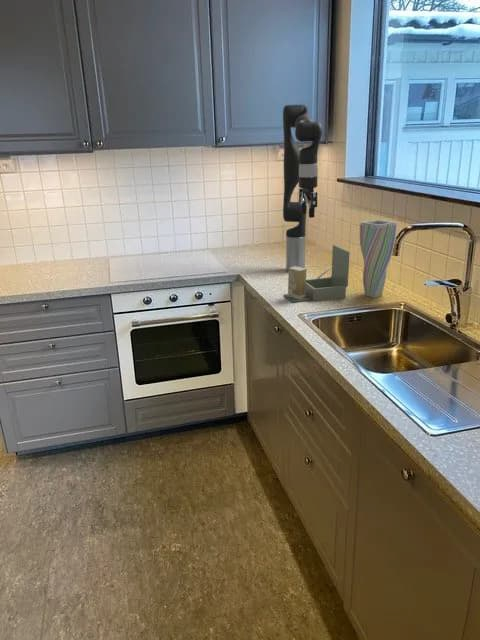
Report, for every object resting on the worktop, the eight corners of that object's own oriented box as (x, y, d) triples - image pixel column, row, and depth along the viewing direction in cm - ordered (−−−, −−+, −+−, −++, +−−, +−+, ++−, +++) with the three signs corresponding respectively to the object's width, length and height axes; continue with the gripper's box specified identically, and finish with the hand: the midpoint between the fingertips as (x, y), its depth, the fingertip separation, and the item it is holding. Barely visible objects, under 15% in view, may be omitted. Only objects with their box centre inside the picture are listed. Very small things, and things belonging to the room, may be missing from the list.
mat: (283, 295, 207) (283, 294, 207) (301, 293, 209) (301, 292, 209) (291, 303, 198) (291, 301, 198) (310, 300, 200) (310, 299, 200)
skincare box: (287, 296, 204) (287, 267, 200) (294, 294, 207) (294, 265, 202) (299, 299, 199) (300, 270, 195) (306, 297, 202) (306, 268, 198)
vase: (375, 302, 195) (380, 226, 185) (349, 294, 206) (353, 222, 195) (397, 295, 203) (403, 222, 192) (371, 288, 213) (375, 218, 202)
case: (300, 290, 213) (300, 247, 206) (331, 287, 216) (333, 244, 209) (313, 301, 199) (314, 255, 192) (347, 297, 202) (349, 251, 196)
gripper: (293, 174, 204) (293, 213, 211) (306, 177, 192) (305, 219, 198) (310, 173, 206) (309, 212, 212) (324, 176, 193) (322, 217, 199)
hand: (307, 215), depth 205 cm, fingers open, 8 cm apart
